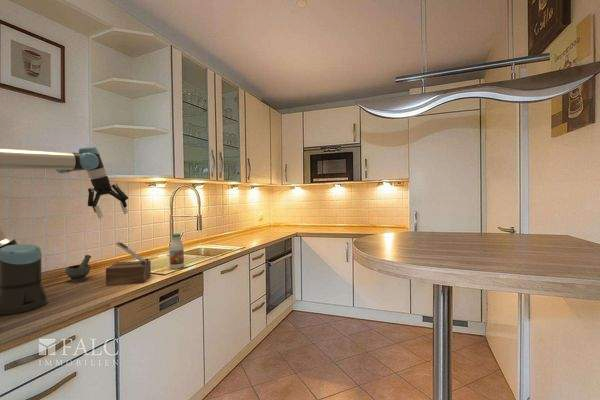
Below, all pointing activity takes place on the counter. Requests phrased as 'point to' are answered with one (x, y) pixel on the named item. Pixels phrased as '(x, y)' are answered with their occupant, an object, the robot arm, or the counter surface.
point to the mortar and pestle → (79, 270)
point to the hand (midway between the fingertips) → (113, 215)
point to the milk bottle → (176, 252)
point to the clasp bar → (130, 251)
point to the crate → (128, 272)
